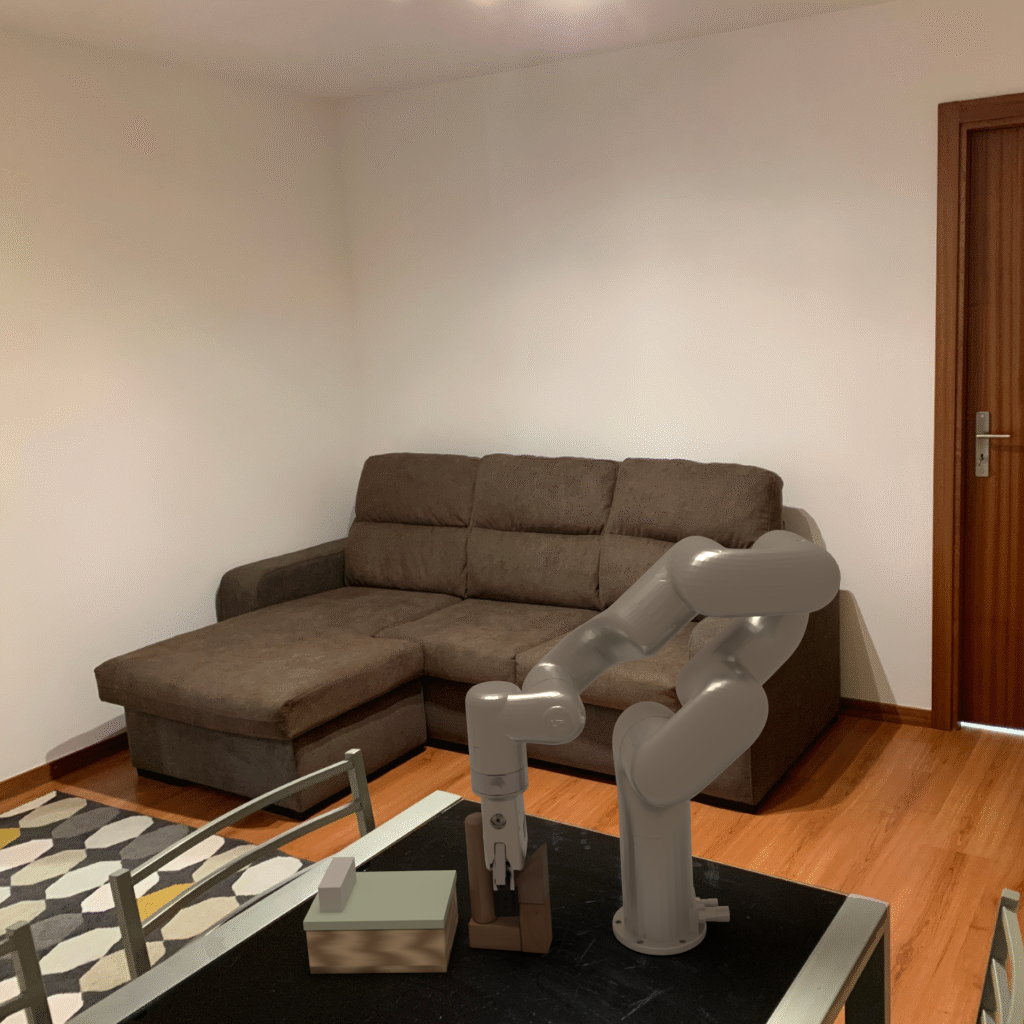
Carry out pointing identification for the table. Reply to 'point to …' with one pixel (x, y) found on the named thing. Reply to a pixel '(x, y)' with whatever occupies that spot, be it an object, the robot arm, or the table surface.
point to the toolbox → (383, 948)
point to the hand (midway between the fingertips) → (508, 904)
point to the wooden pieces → (532, 898)
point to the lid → (380, 899)
